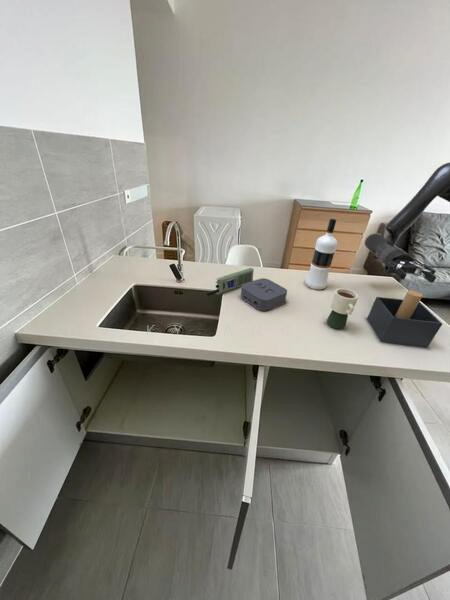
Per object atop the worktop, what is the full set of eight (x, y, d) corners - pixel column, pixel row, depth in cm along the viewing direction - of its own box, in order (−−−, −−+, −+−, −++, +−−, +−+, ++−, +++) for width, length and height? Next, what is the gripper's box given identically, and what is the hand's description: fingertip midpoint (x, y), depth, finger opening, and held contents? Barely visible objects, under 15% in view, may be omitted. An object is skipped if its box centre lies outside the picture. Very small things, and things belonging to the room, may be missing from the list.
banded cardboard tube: (399, 327, 86) (418, 290, 78) (404, 335, 82) (426, 297, 74) (386, 326, 86) (404, 289, 78) (391, 333, 82) (411, 295, 75)
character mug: (352, 334, 82) (366, 302, 75) (332, 334, 81) (344, 302, 75) (338, 316, 91) (348, 285, 84) (319, 316, 91) (329, 285, 84)
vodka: (300, 281, 114) (316, 216, 99) (317, 280, 117) (335, 215, 101) (312, 291, 107) (331, 222, 91) (330, 289, 109) (351, 221, 94)
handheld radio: (253, 282, 111) (209, 298, 97) (248, 280, 113) (205, 295, 99) (254, 269, 108) (209, 283, 94) (249, 267, 110) (204, 281, 96)
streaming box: (288, 302, 98) (290, 291, 95) (262, 313, 90) (263, 301, 88) (263, 287, 108) (264, 277, 105) (237, 296, 100) (238, 285, 97)
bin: (407, 323, 89) (419, 301, 84) (427, 347, 78) (442, 323, 73) (366, 318, 91) (376, 296, 86) (381, 341, 79) (393, 318, 74)
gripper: (378, 247, 88) (399, 265, 74) (420, 251, 86) (450, 269, 73) (371, 266, 92) (390, 286, 78) (411, 270, 90) (437, 291, 77)
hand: (418, 278), depth 75 cm, fingers open, 8 cm apart
